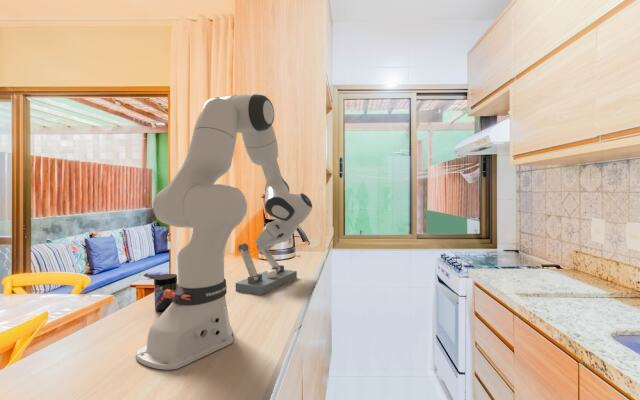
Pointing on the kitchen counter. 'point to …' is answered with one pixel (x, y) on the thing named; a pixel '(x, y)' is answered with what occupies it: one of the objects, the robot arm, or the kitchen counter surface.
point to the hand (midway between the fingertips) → (265, 249)
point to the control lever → (270, 259)
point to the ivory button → (272, 273)
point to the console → (266, 282)
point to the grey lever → (248, 261)
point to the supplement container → (160, 286)
